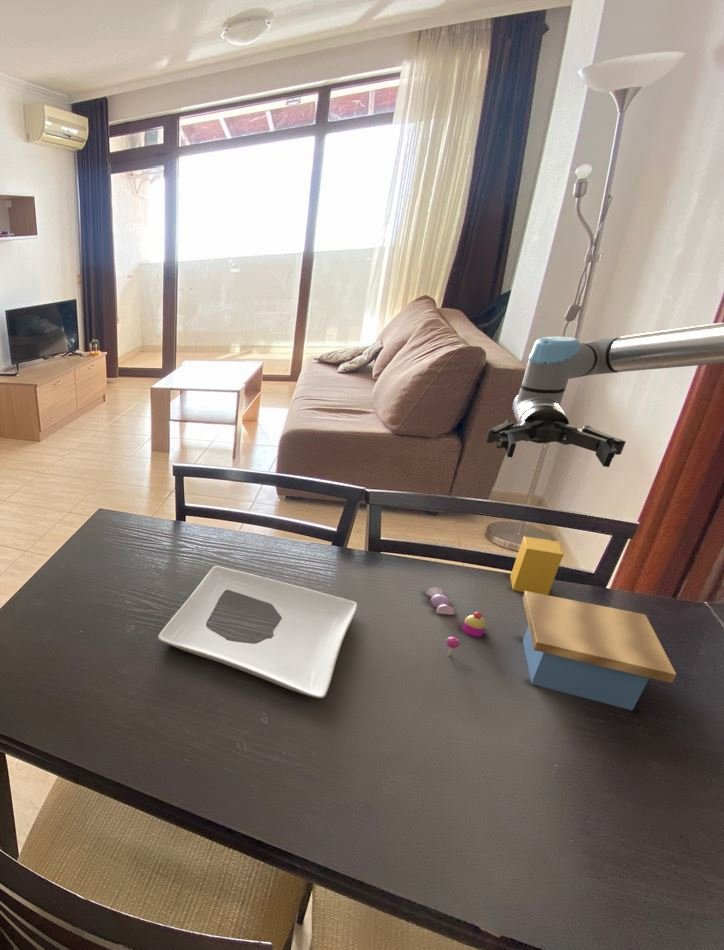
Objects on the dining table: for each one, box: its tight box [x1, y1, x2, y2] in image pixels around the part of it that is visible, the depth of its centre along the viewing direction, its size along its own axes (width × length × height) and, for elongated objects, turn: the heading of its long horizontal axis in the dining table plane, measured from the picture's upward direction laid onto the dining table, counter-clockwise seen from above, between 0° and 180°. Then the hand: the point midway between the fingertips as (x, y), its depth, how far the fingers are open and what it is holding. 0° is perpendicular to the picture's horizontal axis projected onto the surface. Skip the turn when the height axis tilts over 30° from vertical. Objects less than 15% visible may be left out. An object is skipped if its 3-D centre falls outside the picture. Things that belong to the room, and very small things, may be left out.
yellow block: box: [509, 535, 564, 595], centre depth 100 cm, size 5×5×10 cm
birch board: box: [522, 591, 677, 684], centre depth 79 cm, size 14×14×2 cm
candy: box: [425, 586, 487, 656], centre depth 93 cm, size 18×8×6 cm, turn 164°
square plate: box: [157, 565, 358, 699], centre depth 96 cm, size 27×27×4 cm
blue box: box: [522, 625, 650, 711], centre depth 81 cm, size 11×11×8 cm
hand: (558, 455), depth 99 cm, fingers open, 13 cm apart
